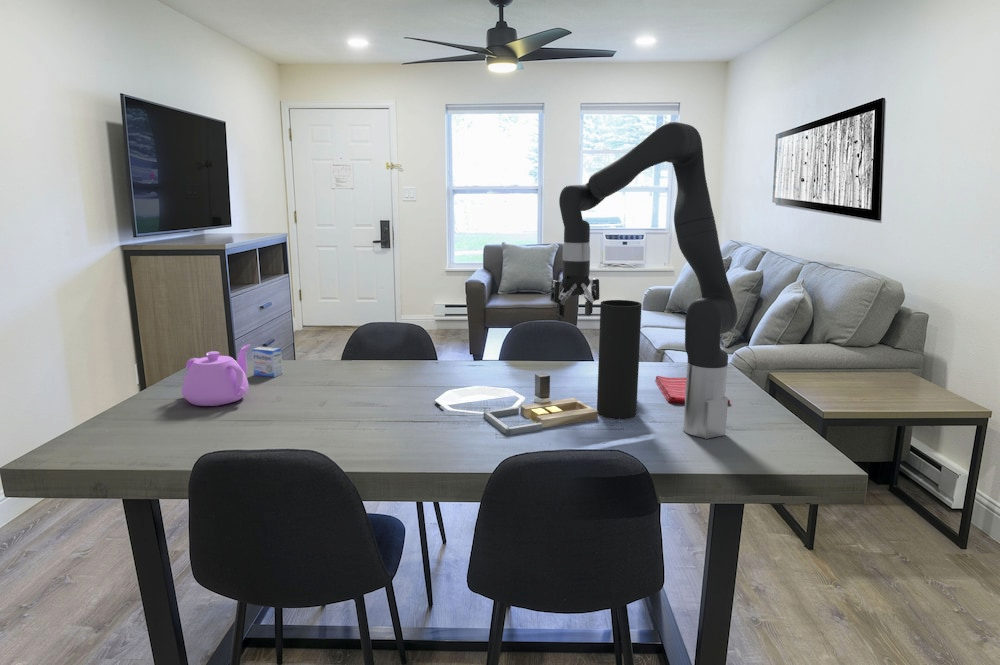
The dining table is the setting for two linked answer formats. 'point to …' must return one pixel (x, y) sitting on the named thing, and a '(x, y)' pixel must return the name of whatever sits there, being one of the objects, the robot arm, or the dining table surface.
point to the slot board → (570, 414)
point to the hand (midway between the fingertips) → (574, 316)
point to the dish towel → (673, 389)
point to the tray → (501, 426)
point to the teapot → (216, 379)
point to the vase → (618, 358)
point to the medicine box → (267, 361)
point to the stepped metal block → (542, 388)
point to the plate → (475, 396)
